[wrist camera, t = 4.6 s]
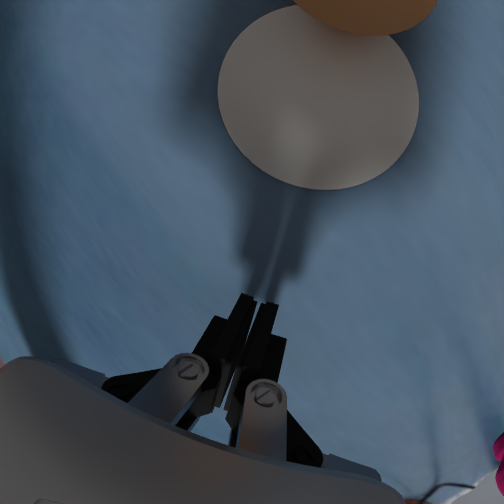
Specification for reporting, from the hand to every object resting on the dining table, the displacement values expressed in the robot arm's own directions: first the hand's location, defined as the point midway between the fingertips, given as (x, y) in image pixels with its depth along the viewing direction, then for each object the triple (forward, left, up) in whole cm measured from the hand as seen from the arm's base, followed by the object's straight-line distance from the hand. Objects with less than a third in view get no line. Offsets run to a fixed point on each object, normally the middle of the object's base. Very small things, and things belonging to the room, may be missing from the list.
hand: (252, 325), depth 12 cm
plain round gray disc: (+4, +9, -2) cm, 10 cm away
